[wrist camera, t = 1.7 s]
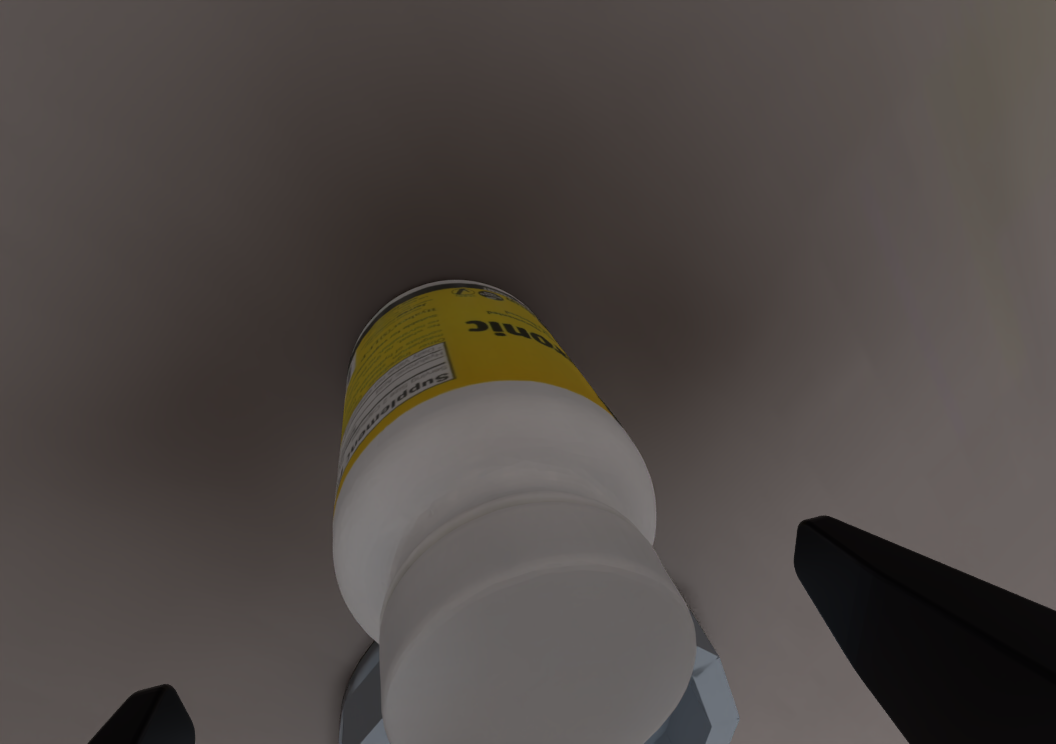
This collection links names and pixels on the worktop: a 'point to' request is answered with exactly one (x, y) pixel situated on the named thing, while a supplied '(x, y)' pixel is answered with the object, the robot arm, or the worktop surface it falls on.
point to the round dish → (683, 740)
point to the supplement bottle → (500, 534)
